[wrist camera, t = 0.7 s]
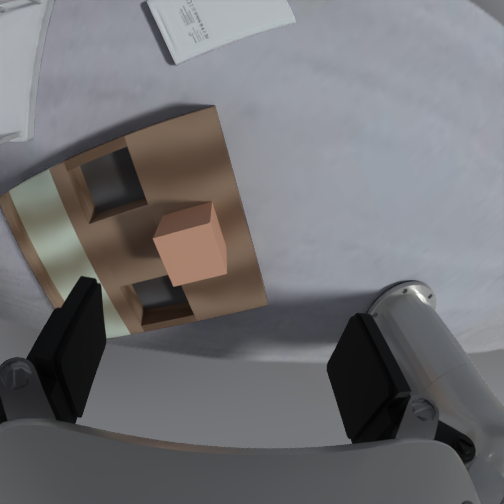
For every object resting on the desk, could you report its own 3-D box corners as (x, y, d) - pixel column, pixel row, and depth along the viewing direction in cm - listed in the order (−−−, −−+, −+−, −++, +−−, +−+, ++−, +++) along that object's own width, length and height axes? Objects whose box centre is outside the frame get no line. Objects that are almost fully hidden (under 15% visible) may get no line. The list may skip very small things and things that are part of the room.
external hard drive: (293, 24, 26) (177, 66, 27) (263, -37, 22) (148, 3, 23) (296, 21, 24) (175, 64, 25) (265, -43, 20) (145, -1, 22)
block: (226, 246, 32) (227, 273, 28) (179, 258, 32) (173, 286, 28) (212, 201, 29) (210, 222, 25) (162, 215, 30) (152, 238, 25)
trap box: (264, 285, 39) (269, 313, 35) (94, 322, 41) (83, 349, 36) (215, 105, 29) (213, 107, 24) (22, 182, 30) (-3, 198, 25)
